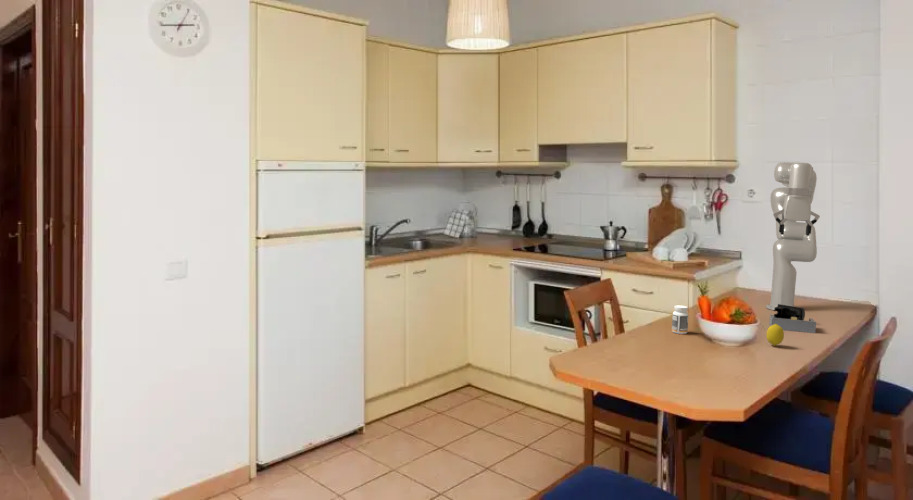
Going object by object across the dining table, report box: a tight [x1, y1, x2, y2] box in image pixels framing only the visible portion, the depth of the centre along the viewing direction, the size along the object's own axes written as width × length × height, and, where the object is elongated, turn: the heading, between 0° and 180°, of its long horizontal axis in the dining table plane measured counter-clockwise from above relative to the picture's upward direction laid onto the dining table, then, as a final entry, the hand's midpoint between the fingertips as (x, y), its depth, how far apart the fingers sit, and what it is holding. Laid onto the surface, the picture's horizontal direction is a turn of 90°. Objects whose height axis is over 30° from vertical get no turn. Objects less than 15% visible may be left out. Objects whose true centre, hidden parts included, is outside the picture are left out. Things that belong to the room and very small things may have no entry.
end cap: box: [773, 304, 806, 321], centre depth 280 cm, size 10×7×7 cm
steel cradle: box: [769, 314, 817, 334], centre depth 269 cm, size 10×15×5 cm, turn 70°
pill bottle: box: [671, 304, 689, 335], centre depth 256 cm, size 6×6×10 cm
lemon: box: [765, 324, 785, 347], centre depth 239 cm, size 6×6×8 cm
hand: (794, 234), depth 281 cm, fingers open, 9 cm apart
